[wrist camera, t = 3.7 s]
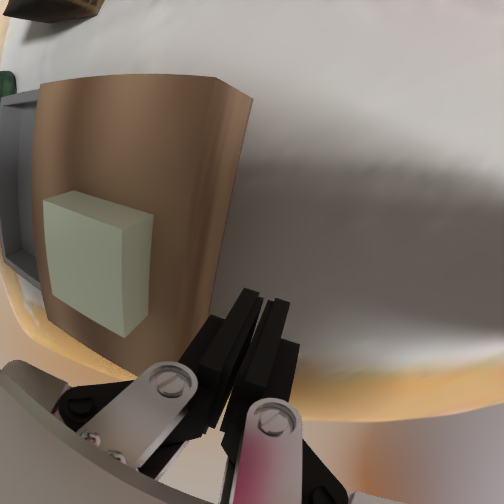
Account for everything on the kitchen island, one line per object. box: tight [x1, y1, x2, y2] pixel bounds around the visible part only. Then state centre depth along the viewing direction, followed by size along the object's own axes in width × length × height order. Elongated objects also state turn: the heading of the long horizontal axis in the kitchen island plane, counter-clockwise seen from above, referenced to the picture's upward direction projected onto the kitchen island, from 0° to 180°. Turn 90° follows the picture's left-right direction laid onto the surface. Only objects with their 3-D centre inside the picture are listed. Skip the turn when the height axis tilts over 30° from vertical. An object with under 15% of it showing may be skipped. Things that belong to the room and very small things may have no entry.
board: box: [31, 74, 253, 377], centre depth 14 cm, size 11×16×5 cm
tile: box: [43, 191, 154, 338], centre depth 11 cm, size 5×5×2 cm
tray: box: [0, 89, 41, 290], centre depth 17 cm, size 10×16×3 cm, turn 167°
